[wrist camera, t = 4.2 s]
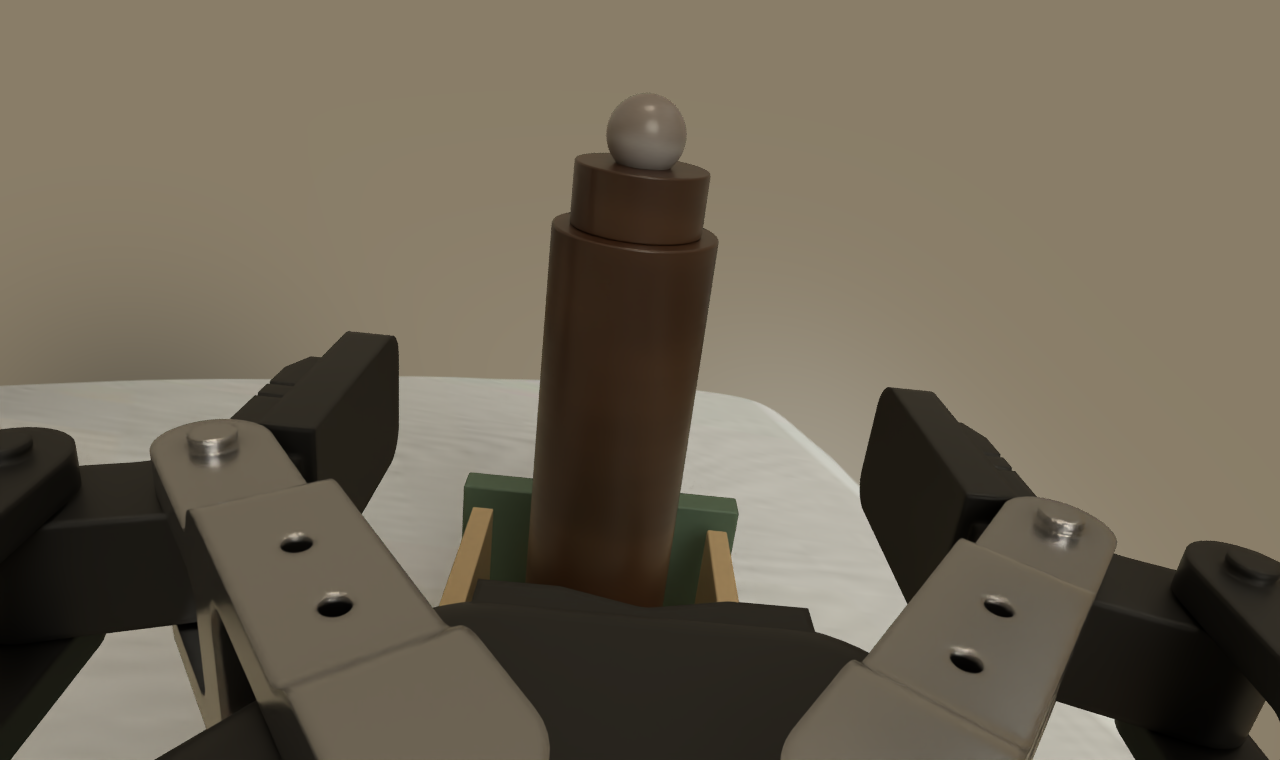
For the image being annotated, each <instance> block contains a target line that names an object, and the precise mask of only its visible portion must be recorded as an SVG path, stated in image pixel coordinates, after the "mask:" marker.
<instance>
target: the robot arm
mask: <svg viewBox="0 0 1280 760" xmlns="http://www.w3.org/2000/svg"><path fill="white" fill-rule="evenodd" d="M398 353H399V351H398V343H397V340H396V338H395V337H394V336H390V335H380V334H370V333H360V332H350V331H348V332H346V333H345V334H344V335H343V336H342V337H341V338H340V339H339V340H338V341H337V342H336V343H335V344H334V345H333V346H332V347H331V348H330V349H329V350H328V351H327V352H326V353H325V354H324V355H323V356H322V357H309V358H306V359H303V360H301V361H299V362H296V363H294V364H291V365H289V366H286V367H285V368H283V369H282V370H281V371H280V372H279V373H278V374H277V375H276V376H275V377H274V378H273V379H272V380H271V381H270V384H266V385H265V386H264V387H263V388H262V389H261V390H260V391H259V392H258V396H256V395H255V396H254V397H253V398H252V399H251V400H249V401H248V402H247V403H246V404H245V405H244V406H243V407H242V408H241V409H240V410H239V411H238V412H237V413H236V414H235V415H234V416H232V417H231V418H230V419H215V420H205V421H199V422H194V423H189V424H186V425H182V426H179V427H176V428H174V429H171V430H169V431H167V432H165V433H164V434H162V435H160V436H159V437H158V438H157V439H156V440H154V442H153V443H152V445H151V447H150V456H151V460H150V461H143V462H132V463H117V464H101V465H85V466H79V463H78V457H77V451H76V445H75V441H74V439H73V438H72V437H71V436H70V435H68V434H66V433H64V432H61V431H58V430H54V429H49V428H39V427H21V428H9V429H1V430H0V760H11V758H12V757H13V756H14V755H15V753H16V752H17V751H18V750H19V748H20V747H21V746H22V744H23V743H24V742H25V741H26V739H27V738H28V737H29V735H30V734H31V733H32V732H33V730H34V729H35V728H36V727H37V725H38V724H39V723H40V721H41V720H42V719H43V718H44V716H45V715H46V714H47V712H48V711H49V710H50V709H51V707H52V706H53V705H54V704H55V702H56V701H57V700H58V698H59V697H60V696H61V695H62V693H63V692H64V691H65V689H66V688H67V687H68V686H69V684H70V683H71V682H72V681H73V679H74V678H75V677H76V675H77V674H78V673H79V672H80V670H81V669H82V668H83V666H84V665H85V664H86V663H87V661H88V660H89V659H90V658H91V656H92V655H93V654H94V652H95V651H96V650H97V649H98V647H99V646H100V645H101V643H102V641H103V640H104V637H105V635H106V633H113V632H121V631H129V630H137V629H145V628H153V627H161V626H169V625H172V626H173V633H174V639H175V641H176V644H177V647H178V650H179V653H180V656H181V658H182V661H183V664H184V667H185V670H186V673H187V675H188V678H189V681H190V684H191V687H192V690H193V693H194V695H195V698H196V701H197V704H198V707H199V710H200V712H201V715H202V718H203V721H204V724H205V727H206V730H204V731H203V732H201V733H199V734H198V735H196V736H194V737H192V738H191V739H189V740H187V741H186V742H184V743H182V744H181V745H179V746H177V747H175V748H174V749H172V750H170V751H169V752H167V753H165V754H163V755H162V756H160V757H158V758H157V759H155V760H1033V757H1034V755H1035V752H1036V750H1037V747H1038V745H1039V742H1040V740H1041V738H1042V735H1043V733H1044V730H1045V728H1046V725H1047V723H1048V720H1049V718H1050V715H1051V713H1052V710H1053V708H1054V705H1055V703H1056V701H1058V702H1061V703H1064V704H1067V705H1070V706H1074V707H1077V708H1080V709H1083V710H1087V711H1090V712H1093V713H1096V714H1100V715H1103V716H1106V717H1109V718H1112V719H1115V724H1116V728H1117V730H1118V732H1119V734H1120V735H1121V737H1122V739H1123V740H1124V742H1125V744H1126V745H1127V747H1128V748H1129V750H1130V752H1131V753H1132V755H1133V757H1134V758H1135V760H1269V759H1268V758H1267V757H1266V756H1265V754H1264V753H1263V752H1262V750H1261V749H1260V748H1259V747H1258V746H1257V744H1256V743H1255V742H1254V741H1253V739H1252V738H1251V737H1250V736H1249V732H1250V730H1251V728H1252V726H1253V724H1254V722H1255V720H1256V718H1257V716H1258V714H1259V712H1260V710H1261V708H1262V706H1263V704H1264V702H1265V701H1267V702H1268V704H1269V705H1270V706H1271V707H1272V708H1273V710H1274V711H1275V713H1276V714H1277V716H1278V718H1279V721H1280V562H1278V561H1275V560H1274V559H1271V558H1269V557H1267V556H1265V555H1263V554H1261V553H1258V552H1255V551H1252V550H1249V549H1247V548H1243V547H1240V546H1237V545H1232V544H1228V543H1223V542H1217V541H1197V542H1193V543H1191V544H1189V545H1188V546H1187V547H1186V550H1185V552H1184V554H1183V557H1182V559H1181V561H1180V564H1179V566H1178V569H1177V570H1173V569H1169V568H1165V567H1161V566H1157V565H1153V564H1150V563H1145V562H1142V561H1138V560H1134V559H1130V558H1127V557H1123V556H1120V555H1117V554H1114V551H1115V549H1116V546H1117V540H1116V537H1115V535H1114V533H1113V532H1112V531H1111V530H1110V529H1109V527H1107V526H1106V525H1105V524H1104V523H1103V522H1101V521H1100V520H1098V519H1097V518H1095V517H1093V516H1092V515H1090V514H1089V513H1087V512H1084V511H1082V510H1080V509H1078V508H1076V507H1073V506H1071V505H1068V504H1065V503H1062V502H1059V501H1055V500H1051V499H1045V498H1040V497H1037V496H1036V495H1035V494H1034V493H1033V492H1032V491H1031V489H1030V488H1029V487H1028V486H1027V485H1026V484H1025V482H1024V481H1023V480H1022V479H1021V478H1020V477H1019V475H1018V474H1017V473H1016V472H1015V471H1012V468H1011V466H1010V465H1009V464H1008V463H1007V461H1006V460H1005V459H1004V458H1002V457H1000V454H999V452H998V451H997V450H996V449H995V448H994V446H993V445H992V444H991V443H990V442H989V441H988V439H987V438H985V437H984V436H982V435H981V434H979V433H977V432H976V431H974V430H973V429H971V428H969V427H968V426H966V425H964V424H963V423H959V422H958V421H957V420H956V419H955V418H954V416H953V415H952V414H951V413H950V412H949V411H948V409H947V408H946V407H945V405H944V404H943V403H942V402H941V401H940V399H939V398H938V397H937V396H936V395H935V394H934V393H933V392H930V391H920V390H911V389H900V388H891V387H887V388H886V389H885V390H884V391H883V392H882V394H881V396H880V399H879V402H878V405H877V409H876V413H875V418H874V422H873V426H872V430H871V434H870V438H869V442H868V447H867V451H866V455H865V459H864V463H863V468H862V472H861V478H860V500H861V505H862V508H863V511H864V513H865V515H866V517H867V519H868V521H869V524H870V526H871V528H872V530H873V532H874V534H875V536H876V538H877V541H878V543H879V545H880V547H881V549H882V551H883V553H884V555H885V558H886V560H887V562H888V564H889V566H890V568H891V570H892V572H893V574H894V577H895V579H896V581H897V583H898V585H899V587H900V589H901V591H902V594H903V596H904V598H905V600H906V602H907V604H908V605H907V606H906V607H905V608H904V610H903V611H902V612H901V613H900V615H899V616H898V617H897V619H896V620H895V621H894V622H893V624H892V625H891V626H890V627H889V629H888V630H887V631H886V632H885V634H884V635H883V636H882V638H881V639H880V640H879V641H878V643H877V644H876V645H875V646H874V648H873V649H872V650H871V651H870V653H868V652H866V651H864V650H862V649H860V648H858V647H856V646H853V645H851V644H849V643H847V642H844V641H842V640H839V639H836V638H833V637H830V636H827V635H824V634H821V633H817V632H815V630H814V627H813V623H812V620H811V617H810V613H809V610H808V608H798V607H787V606H775V605H764V604H753V603H742V602H731V601H725V602H713V603H701V604H689V605H677V606H665V607H650V608H647V607H639V606H634V605H631V604H627V603H623V602H619V601H615V600H611V599H608V598H604V597H600V596H596V595H592V594H588V593H585V592H581V591H577V590H573V589H569V588H565V587H562V586H553V585H542V584H531V583H520V582H508V581H497V580H486V579H478V581H477V584H476V587H475V591H474V594H473V598H472V601H470V602H460V603H454V604H448V605H442V606H438V607H434V608H432V606H431V605H430V604H429V602H428V601H427V600H426V598H425V597H424V596H423V594H422V593H421V592H420V590H419V589H418V588H417V587H416V585H415V584H414V583H413V581H412V580H411V579H410V577H409V576H408V575H407V573H406V572H405V571H404V569H403V568H402V567H401V565H400V564H399V563H398V562H397V560H396V559H395V558H394V556H393V555H392V554H391V552H390V551H389V550H388V548H387V547H386V546H385V544H384V543H383V542H382V541H381V539H380V538H379V537H378V535H377V534H376V533H375V531H374V530H373V529H372V527H371V526H370V525H369V523H368V522H367V521H366V519H365V518H364V517H363V516H362V513H363V511H364V509H365V508H366V506H367V504H368V502H369V501H370V499H371V497H372V495H373V494H374V492H375V490H376V488H377V487H378V485H379V483H380V482H381V480H382V478H383V476H384V475H385V473H386V471H387V469H388V468H389V466H390V464H391V462H392V460H393V457H394V454H395V450H396V446H397V440H398V430H399V354H398Z"/></svg>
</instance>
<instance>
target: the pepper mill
mask: <svg viewBox="0 0 1280 760" xmlns="http://www.w3.org/2000/svg"><path fill="white" fill-rule="evenodd" d="M685 143H686V125H685V122H684V119H683V117H682V115H681V113H680V111H679V110H678V108H677V107H676V106H675V105H674V104H673V103H672V102H671V101H669V100H668V99H666V98H665V97H663V96H660V95H657V94H652V93H641V94H636V95H633V96H630V97H629V98H627V99H625V100H624V101H622V102H621V103H620V104H619V105H618V106H617V107H616V109H615V110H614V111H613V113H612V114H611V117H610V119H609V122H608V125H607V144H608V148H609V150H610V153H591V154H583V155H579V156H577V157H576V158H575V163H574V176H573V188H572V200H571V212H569V213H565V214H561V215H559V216H557V217H555V218H554V219H553V221H552V227H551V241H550V255H549V269H548V281H547V295H546V310H545V322H544V336H543V349H542V364H541V376H540V390H539V403H538V417H537V431H536V444H535V458H534V471H533V485H532V498H531V512H530V526H529V539H528V553H527V566H526V580H525V583H531V584H542V585H553V586H562V587H565V588H569V589H573V590H577V591H581V592H585V593H588V594H592V595H596V596H600V597H604V598H608V599H611V600H615V601H619V602H623V603H627V604H631V605H634V606H639V607H647V608H650V607H663V601H664V595H665V588H666V582H667V575H668V569H669V562H670V556H671V549H672V543H673V536H674V530H675V523H676V517H677V510H678V503H679V497H680V490H681V484H682V477H683V471H684V464H685V458H686V451H687V445H688V438H689V432H690V425H691V419H692V412H693V406H694V399H695V393H696V386H697V380H698V373H699V366H700V360H701V353H702V346H703V340H704V334H705V328H706V321H707V315H708V308H709V301H710V295H711V288H712V281H713V275H714V269H715V261H716V255H717V248H718V239H717V237H716V236H715V235H714V234H713V233H712V232H710V231H708V230H706V229H704V228H703V224H704V217H705V209H706V203H707V196H708V189H709V182H710V173H709V172H708V171H707V170H705V169H702V168H700V167H698V166H695V165H691V164H687V163H683V162H679V161H678V160H679V158H680V156H681V155H682V153H683V150H684V147H685Z"/></svg>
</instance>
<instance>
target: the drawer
mask: <svg viewBox="0 0 1280 760" xmlns="http://www.w3.org/2000/svg"><path fill="white" fill-rule="evenodd" d="M532 485H533V479H532V478H522V477H512V476H502V475H491V474H481V473H469V475H468V478H467V480H466V483H465V486H464V501H463V528H462V541H461V544H460V547H459V549H458V552H457V555H456V558H455V561H454V564H453V567H452V570H451V573H450V575H449V578H448V581H447V584H446V587H445V590H444V593H443V596H442V599H441V601H440V604H439V606H442V605H448V604H454V603H460V602H470V601H472V598H473V594H474V591H475V587H476V584H477V581H478V579H486V580H497V581H508V582H520V583H525V580H526V566H527V553H528V539H529V526H530V512H531V498H532ZM738 515H739V513H738V508H737V503H736V499H734V498H724V497H714V496H704V495H694V494H684V493H680V497H679V503H678V510H677V517H676V523H675V530H674V536H673V543H672V549H671V556H670V562H669V569H668V575H667V582H666V588H665V595H664V601H663V607H665V606H677V605H689V604H701V603H713V602H725V601H731V602H739V600H738V594H737V589H736V583H735V577H734V572H733V566H732V560H731V552H732V547H733V541H734V536H735V531H736V525H737V520H738Z"/></svg>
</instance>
